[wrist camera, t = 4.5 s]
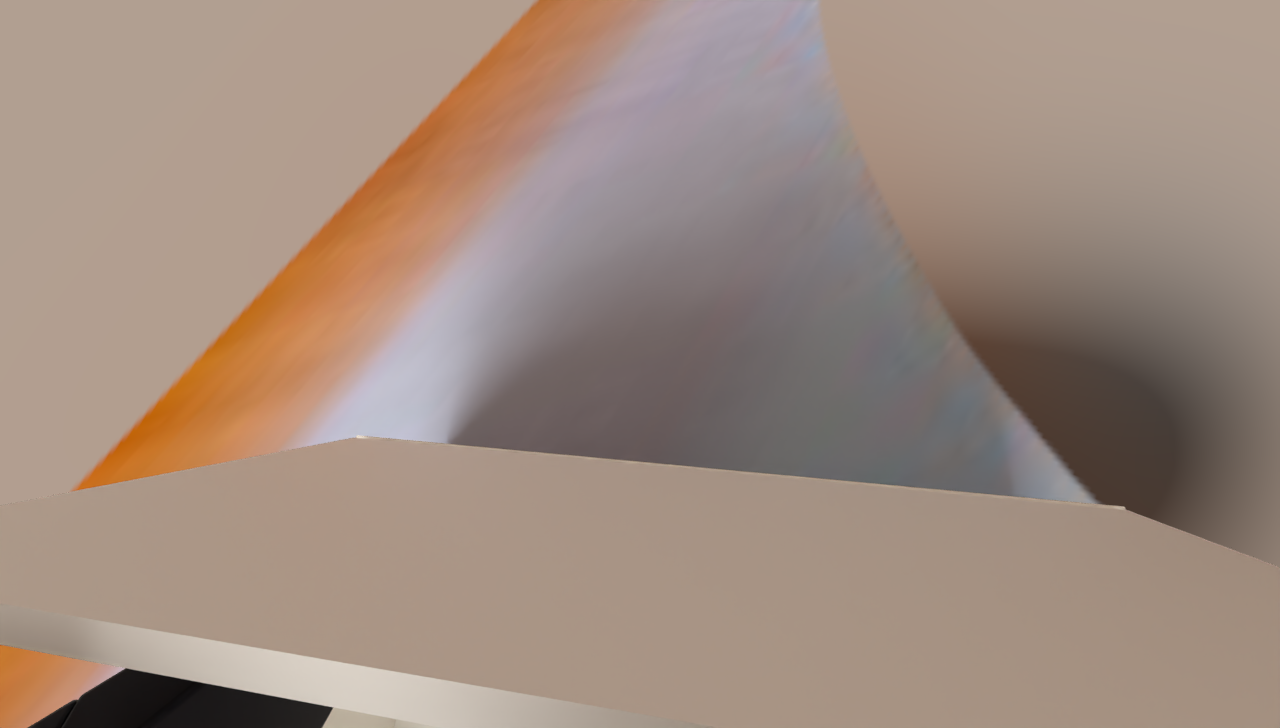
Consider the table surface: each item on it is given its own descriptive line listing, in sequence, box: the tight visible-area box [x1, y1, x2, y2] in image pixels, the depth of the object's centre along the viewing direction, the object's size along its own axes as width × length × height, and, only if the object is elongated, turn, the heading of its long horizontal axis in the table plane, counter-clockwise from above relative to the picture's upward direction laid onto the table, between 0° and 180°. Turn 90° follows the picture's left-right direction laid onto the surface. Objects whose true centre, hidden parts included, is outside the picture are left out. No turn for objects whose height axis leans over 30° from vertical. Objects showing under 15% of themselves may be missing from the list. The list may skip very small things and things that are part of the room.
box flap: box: [0, 438, 1280, 728], centre depth 9 cm, size 1×20×10 cm, turn 84°
